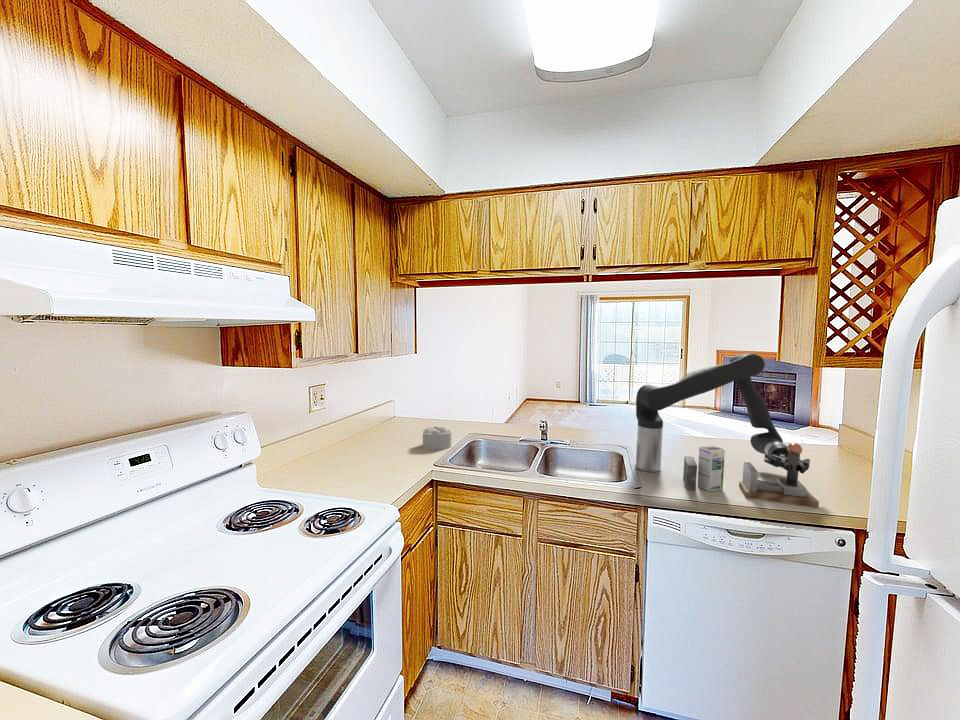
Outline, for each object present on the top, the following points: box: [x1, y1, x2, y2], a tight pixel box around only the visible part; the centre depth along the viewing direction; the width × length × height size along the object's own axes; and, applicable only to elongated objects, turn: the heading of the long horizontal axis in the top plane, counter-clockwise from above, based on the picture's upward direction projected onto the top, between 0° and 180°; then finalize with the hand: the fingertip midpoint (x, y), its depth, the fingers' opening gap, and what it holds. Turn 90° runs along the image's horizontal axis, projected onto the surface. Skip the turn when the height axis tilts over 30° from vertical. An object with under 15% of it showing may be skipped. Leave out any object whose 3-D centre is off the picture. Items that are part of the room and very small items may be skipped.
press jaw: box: [741, 442, 808, 498], centre depth 140 cm, size 16×10×17 cm, turn 69°
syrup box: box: [697, 445, 726, 492], centre depth 147 cm, size 6×6×14 cm
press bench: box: [682, 455, 820, 509], centre depth 143 cm, size 38×10×9 cm, turn 69°
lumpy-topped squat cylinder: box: [422, 425, 452, 451], centre depth 192 cm, size 10×13×9 cm
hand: (796, 469), depth 135 cm, fingers closed on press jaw, 3 cm apart
